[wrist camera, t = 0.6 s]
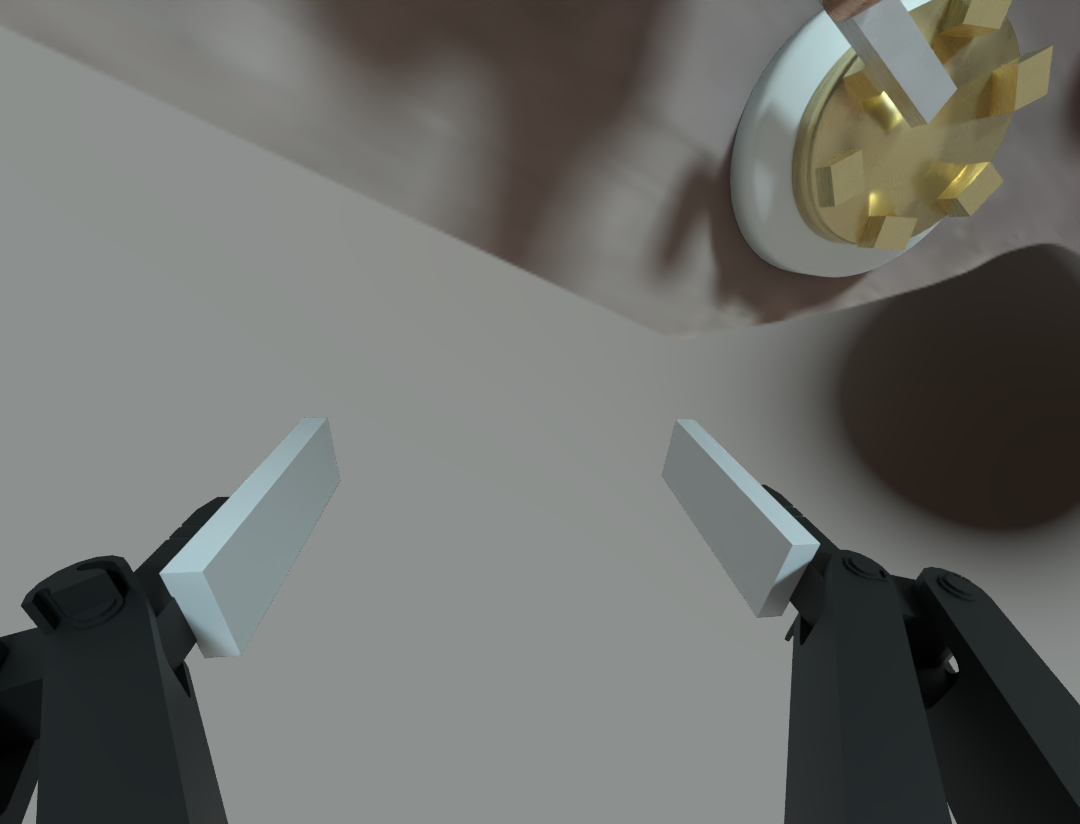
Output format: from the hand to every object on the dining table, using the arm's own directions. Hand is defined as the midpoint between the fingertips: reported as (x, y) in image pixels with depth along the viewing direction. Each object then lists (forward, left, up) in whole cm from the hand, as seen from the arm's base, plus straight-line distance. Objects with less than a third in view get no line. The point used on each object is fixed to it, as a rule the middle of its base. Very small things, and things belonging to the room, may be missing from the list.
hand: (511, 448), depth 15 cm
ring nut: (-27, +22, -23) cm, 41 cm away
